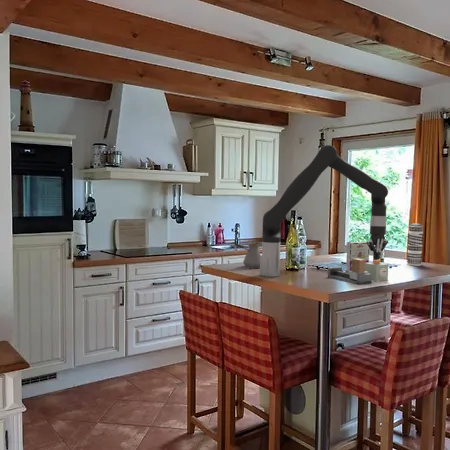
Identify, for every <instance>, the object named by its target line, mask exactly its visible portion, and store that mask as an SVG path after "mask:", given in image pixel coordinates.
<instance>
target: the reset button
mask: <svg viewBox="0 0 450 450" xmlns="http://www.w3.org/2000/svg"><path fill="white" fill-rule="evenodd" d="M372 262H373V264H380V263H381V260H380V259H379V260H374V259H373V260H372Z"/></svg>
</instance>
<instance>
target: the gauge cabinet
mask: <svg viewBox="0 0 450 450" xmlns="http://www.w3.org/2000/svg"><path fill="white" fill-rule="evenodd" d="M365 272H368V274H369V273H370V274H372V282H382V281H389V279H388V278H389V264H388V263H383V262H380V264H373V261H372V262H370V261H369V263H365Z"/></svg>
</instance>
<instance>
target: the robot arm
mask: <svg viewBox="0 0 450 450" xmlns="http://www.w3.org/2000/svg"><path fill="white" fill-rule="evenodd" d="M315 155H316V156H315V157H314V158H313V160H312V161H311V162H310V163H309V164H308V166H306V167H305V169H303V170H302V171H300V173H299V174H298V175H297V176H296V177H295V178H294V179H293V181H292V182H290V184H289V185H288V187H286V189H285V191H284V192H283V194H282V196H281V198H280V199H279V200H278V202H276V204H274V205H273V206H272V208H271V209H269V210H268V211H267V210H266V212H265V213H264V214H263V216H262V233H261V234H262V238H261V239H262V242H261V243H262V244H261V249H262V250H261V257H260V268H259V275H260V276H263V277H267V278H268V277H269V278H271V277H272V278H273V277H274V278H275V277H280V273H281V268H280V267H281V239H282V238H281V228H282V227H281V225H282V222H283V221H284V219H285V218H286V217H287V215H288V214H289V212H290V211H291V210H292V209H293V208H294V207H295V206H296V205H297V204H299V203H300V201H301V200H302V199H303V198H304V197H305V196H306V195H307V193H308V192H310V190H311V189H312V188H313V186H314V185H315V183H316V182H317V180H318V179H319V177H320V176H321V174H323V172H324V171H325V170H326V169H327V168H331V169H333V170H335V171H336V172H339V174H341V175H342V176H344V177H346V178H347V179H348V180H350V182H352V183H353V184H355V185H356V186H358V187H359V188H361V189H363V190H365V191H366V192H368V193H369V194H370V195H371V197H370V198H371V210H370V211H371V213H370V219H369V221H370V222H369V234H370V238H369V240H367V241H365V242H366V243H367V245H368V246H369V251H371V252H373V260H380V257H381V252H383V251H384V250H385V248H386V246H387V244H388V242H389V241H388V240H386V239H385V238H386V237H385V235H386V233H387V232H386V231H387V205H386V197H388V196H389V195H388V194H389V189H388V187H387V186H386V185H384V184H383V183H381V182H380V181H378V180H376V179H375V178H373V177H371V176H370V175H369V174H368V173H366V172H365V171H363V170H362V169H360V168H359V167H356V166H355V165H353V164H350V163H349V162H347V161H345V160H344V159H343V158H341V156H339V155H338V150H337V149H336V147H335V146H333V145H330V144H327V145H324V146H321V148H320V149H319V150H318V152H317V153H316V154H315Z"/></svg>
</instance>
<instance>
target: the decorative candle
mask: <svg viewBox="0 0 450 450" xmlns="http://www.w3.org/2000/svg"><path fill="white" fill-rule="evenodd" d="M408 226H409V229H408V233H407V238H408V239H407V246H408V247H407V249H408V250H407V253H406V254H407V258H406V265H408V266H412V267H413V266H415V267H419V266H420V267H421V266H422V264H423V262H422V261H423V259H422V258H423V251H422V249H423V248H422V247H423V245H424V243H423V242H424V237H423V236H425V235H424V233H423V232H424V231H423V230H424V228H423V227H424V225H422V224H421V223H411V224H410V225H408Z"/></svg>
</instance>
